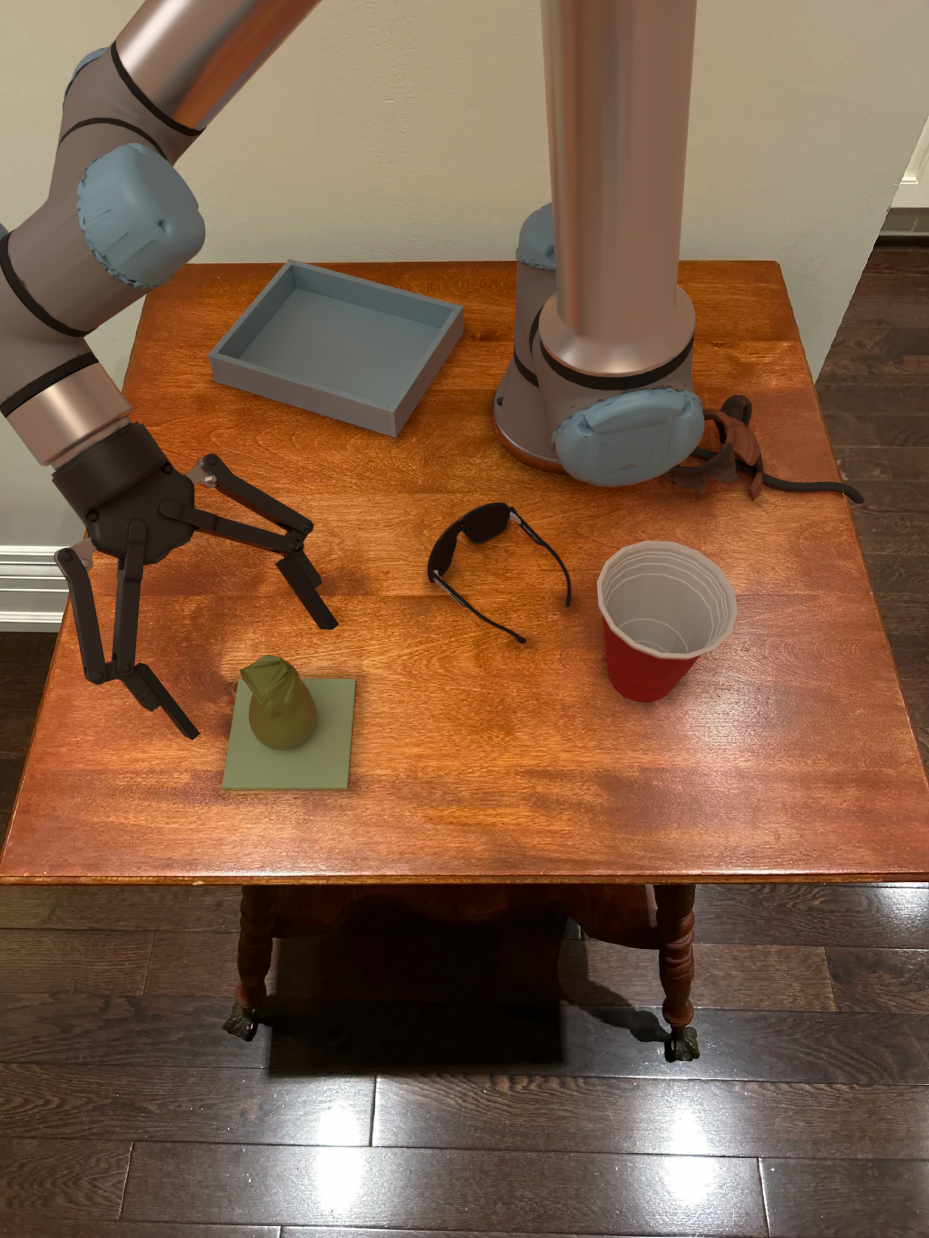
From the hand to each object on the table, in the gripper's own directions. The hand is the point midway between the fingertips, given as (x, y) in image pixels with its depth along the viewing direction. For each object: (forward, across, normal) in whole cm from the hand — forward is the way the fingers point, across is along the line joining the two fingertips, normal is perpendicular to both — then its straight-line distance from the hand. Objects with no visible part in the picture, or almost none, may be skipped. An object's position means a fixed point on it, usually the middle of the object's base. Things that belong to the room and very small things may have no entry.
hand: (263, 679), depth 74 cm
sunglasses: (+8, -23, -2) cm, 24 cm away
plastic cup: (+18, -25, +9) cm, 32 cm away
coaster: (+6, 0, -3) cm, 7 cm away
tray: (-16, -33, -26) cm, 45 cm away
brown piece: (+11, -48, +2) cm, 49 cm away
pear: (+6, 0, -3) cm, 6 cm away
